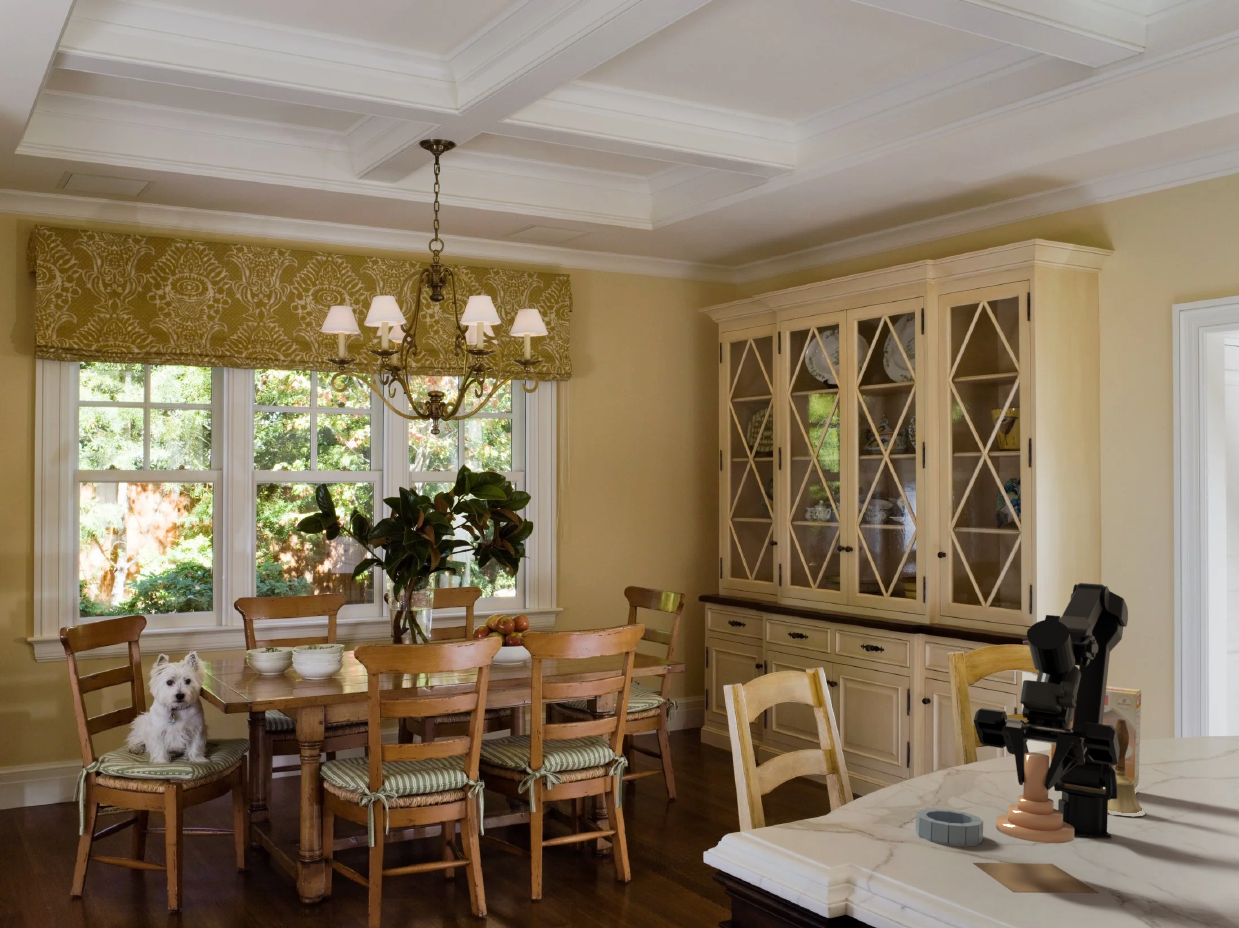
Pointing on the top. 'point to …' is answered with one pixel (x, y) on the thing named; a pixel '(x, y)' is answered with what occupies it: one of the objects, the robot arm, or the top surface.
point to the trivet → (1034, 878)
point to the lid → (1035, 808)
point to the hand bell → (1123, 776)
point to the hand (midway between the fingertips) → (1033, 785)
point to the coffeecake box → (1129, 709)
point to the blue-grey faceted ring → (949, 827)
